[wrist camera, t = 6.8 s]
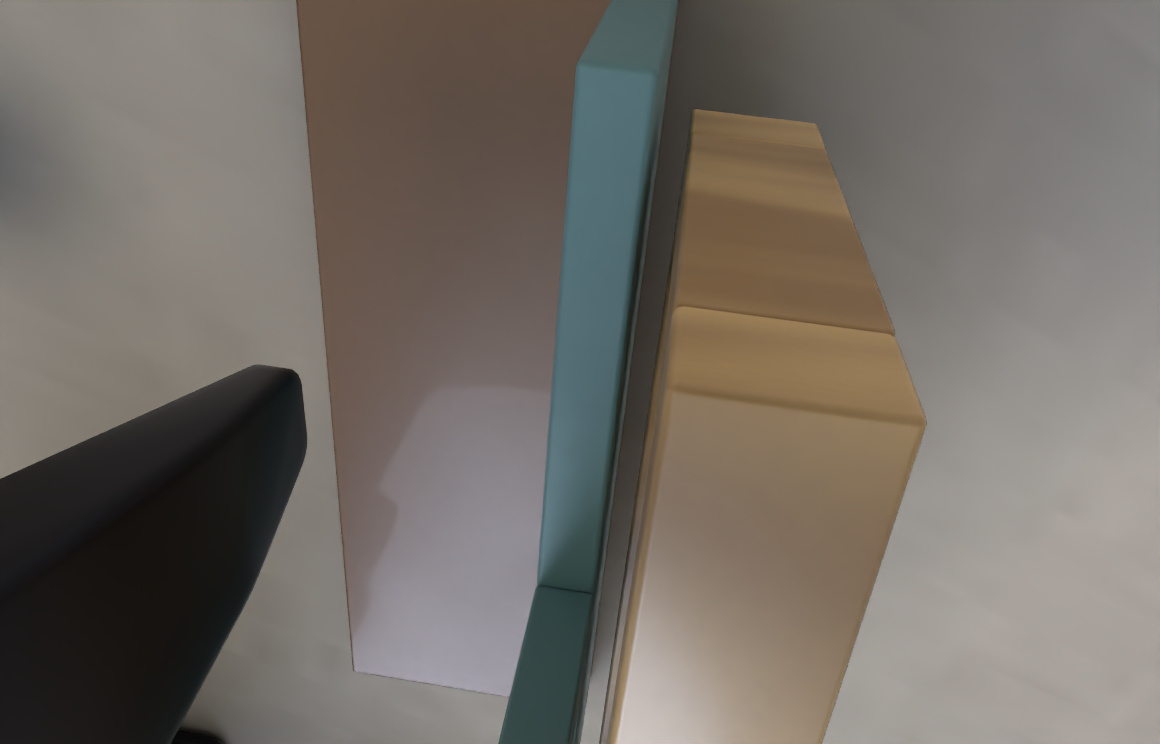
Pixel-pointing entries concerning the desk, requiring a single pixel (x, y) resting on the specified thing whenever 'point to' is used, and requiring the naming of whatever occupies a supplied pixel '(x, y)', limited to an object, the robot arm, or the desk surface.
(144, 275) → the desk surface
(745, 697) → the picture frame
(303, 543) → the desk surface
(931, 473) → the desk surface
